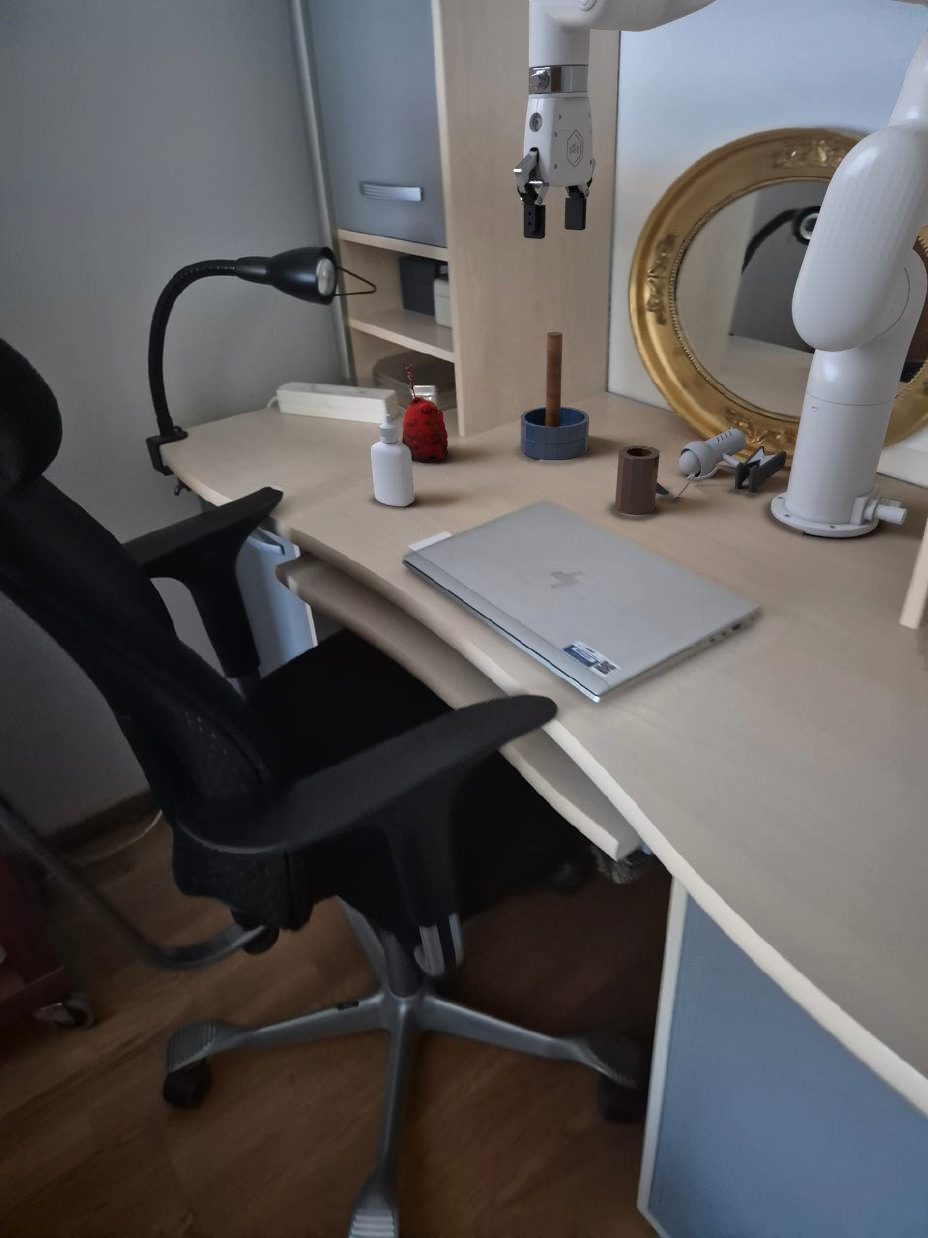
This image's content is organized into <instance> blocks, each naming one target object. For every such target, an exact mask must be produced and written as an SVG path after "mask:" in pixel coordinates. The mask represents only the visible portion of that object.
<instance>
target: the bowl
mask: <svg viewBox="0 0 928 1238" xmlns="http://www.w3.org/2000/svg"><path fill="white" fill-rule="evenodd" d="M589 433H590V416H589V414H588V413H587V412H585V411H584V410H581V409H579V408H575V407H569V406H561V410H560V427H546V406H543V407H542V406H541V407H536V408H531V409H529V410H527V411H525V412H523V413H522V414H521V415H520V451H521V452H522V453H523V454H524V455H526V456H528V457H530V458H531V459H535V460H538V461H540V460H549V461H557V460H558V461H561V460H569V459H574V458H577V457H580V456H582V455H583V454H585V453H586V452H587V450H589V449H588V448H589Z"/></svg>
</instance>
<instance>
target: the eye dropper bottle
mask: <svg viewBox="0 0 928 1238" xmlns="http://www.w3.org/2000/svg"><path fill="white" fill-rule="evenodd" d="M378 429H379V440H380V441H377V442H374V444H373V445H372V446H371V447H370V458H371V469H372V477H373V478H372V479H373V489H374V490H373V491H374V497H375V500H377V501H378V502H380V503H382V504H384V505H387V506H393V507H406V506H409V505H411V504H412V503H414V501H415V488H414V487H415V486H414V475H413V474H414V473H413V462H412V461H413V459H411V452H410V450H409V448H408V447H407V446H406V445H405V444H403V443H402V441H400V437H399V425H398V424H397V423H395V422H393V419H392V416H391V414H389V413H387V414H384V420H383V423H381V424H379V426H378Z"/></svg>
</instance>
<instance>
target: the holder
mask: <svg viewBox="0 0 928 1238" xmlns="http://www.w3.org/2000/svg"><path fill="white" fill-rule="evenodd" d="M659 464H660V450H658V449H657V448H655V447H653V446H648V445H641V444H634V445H627V446H623V447H621V448H620V449H618V458H617V470H616V487H615V498H614V499H615V501H614V508H615V509H616V510H617V511H618V512H620V513H623V514H625V515H631V516H641V515H648V514H650V513H652V512H653V511H654V510H655V508H656V497H657V496H656V495H657V493H656V487H657V482H658V476H659Z"/></svg>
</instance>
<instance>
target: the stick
mask: <svg viewBox="0 0 928 1238" xmlns="http://www.w3.org/2000/svg"><path fill="white" fill-rule="evenodd" d="M563 335H564V334H563V332H561V331H551V332H548V333H547V334H546V376H545V377H546V379H545V380H546V381H545V382H546V383H545V385H546V386H545V407H546V427H560V410H561V407H562V406H561V405H562V372H563V368H562V367H563Z"/></svg>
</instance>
